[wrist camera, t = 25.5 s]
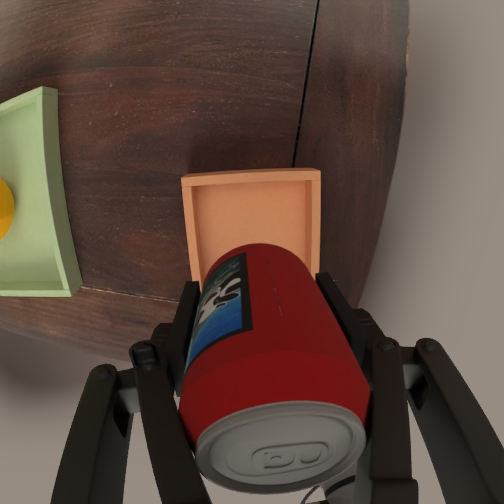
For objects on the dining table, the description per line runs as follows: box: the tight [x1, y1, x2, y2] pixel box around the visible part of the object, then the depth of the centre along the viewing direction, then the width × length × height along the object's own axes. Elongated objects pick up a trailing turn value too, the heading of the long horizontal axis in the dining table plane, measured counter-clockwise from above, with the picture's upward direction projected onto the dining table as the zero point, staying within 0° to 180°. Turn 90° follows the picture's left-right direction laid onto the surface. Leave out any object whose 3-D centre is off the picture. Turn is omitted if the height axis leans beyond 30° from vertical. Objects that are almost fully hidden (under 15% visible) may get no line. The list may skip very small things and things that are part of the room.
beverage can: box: [178, 243, 371, 495], centre depth 13 cm, size 7×7×12 cm
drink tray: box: [181, 168, 321, 291], centre depth 28 cm, size 14×12×3 cm
